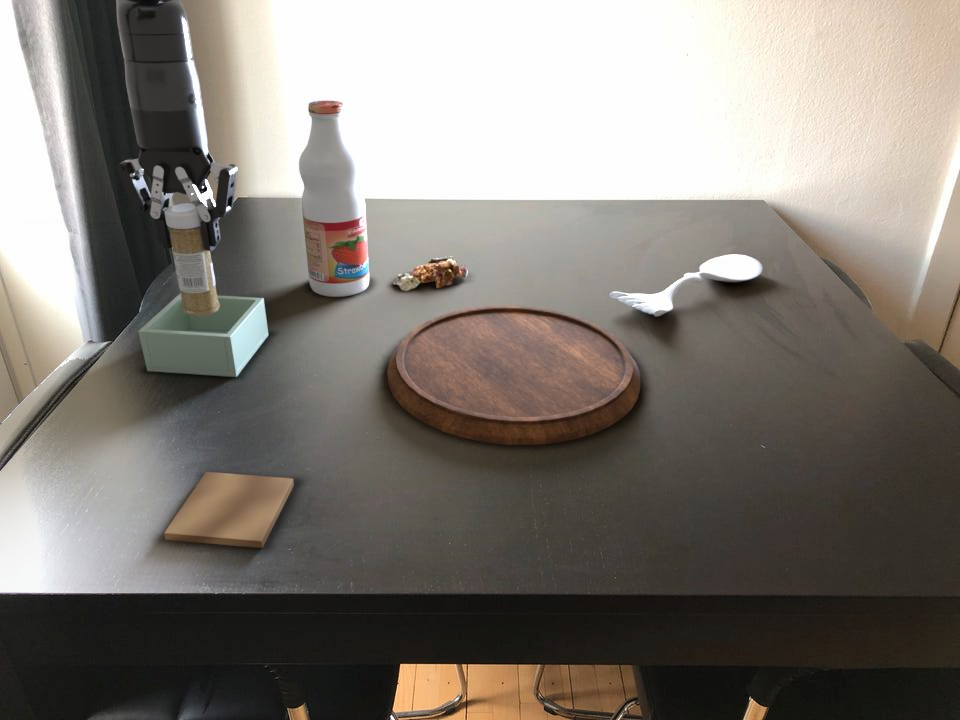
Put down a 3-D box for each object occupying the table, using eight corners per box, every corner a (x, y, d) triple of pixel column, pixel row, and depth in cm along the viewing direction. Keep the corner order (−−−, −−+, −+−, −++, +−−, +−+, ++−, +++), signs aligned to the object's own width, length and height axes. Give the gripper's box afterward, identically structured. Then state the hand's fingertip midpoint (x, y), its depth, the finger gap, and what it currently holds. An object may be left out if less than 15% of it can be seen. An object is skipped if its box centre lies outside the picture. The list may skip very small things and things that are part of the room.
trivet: (165, 541, 67) (163, 533, 66) (207, 479, 75) (205, 471, 74) (262, 549, 66) (261, 541, 66) (294, 486, 74) (293, 478, 74)
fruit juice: (329, 271, 123) (314, 95, 110) (380, 280, 120) (371, 100, 107) (298, 292, 115) (277, 105, 102) (351, 302, 112) (337, 111, 99)
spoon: (605, 311, 112) (607, 290, 110) (724, 262, 130) (727, 243, 129) (653, 332, 106) (657, 310, 104) (770, 278, 124) (775, 258, 123)
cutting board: (472, 480, 75) (472, 460, 74) (347, 351, 99) (345, 334, 98) (694, 396, 90) (698, 378, 89) (540, 301, 114) (541, 286, 113)
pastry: (387, 283, 119) (386, 262, 118) (448, 266, 126) (448, 246, 124) (411, 297, 115) (411, 276, 113) (473, 280, 121) (473, 259, 119)
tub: (147, 372, 93) (137, 331, 90) (187, 331, 103) (180, 292, 100) (236, 378, 92) (230, 337, 89) (268, 336, 102) (263, 297, 99)
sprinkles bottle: (226, 305, 96) (211, 204, 90) (208, 319, 92) (192, 215, 86) (193, 301, 97) (176, 200, 90) (175, 315, 93) (155, 211, 86)
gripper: (241, 99, 85) (258, 240, 93) (122, 93, 86) (149, 234, 94) (215, 111, 79) (235, 262, 87) (85, 104, 79) (118, 254, 88)
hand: (190, 246), depth 90 cm, fingers closed on sprinkles bottle, 4 cm apart
